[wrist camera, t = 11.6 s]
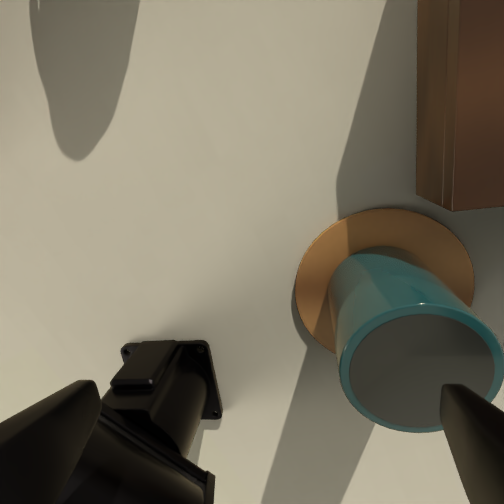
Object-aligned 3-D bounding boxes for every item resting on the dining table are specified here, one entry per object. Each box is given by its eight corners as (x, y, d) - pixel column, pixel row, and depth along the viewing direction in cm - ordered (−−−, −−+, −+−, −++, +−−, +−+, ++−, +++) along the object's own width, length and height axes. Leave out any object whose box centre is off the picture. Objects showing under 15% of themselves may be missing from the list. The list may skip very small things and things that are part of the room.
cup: (433, 335, 19) (500, 435, 13) (330, 339, 21) (343, 433, 14) (435, 240, 18) (515, 299, 11) (323, 250, 19) (334, 309, 12)
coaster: (466, 358, 20) (469, 362, 20) (303, 362, 22) (303, 367, 21) (476, 197, 17) (480, 198, 17) (286, 218, 19) (286, 220, 18)
